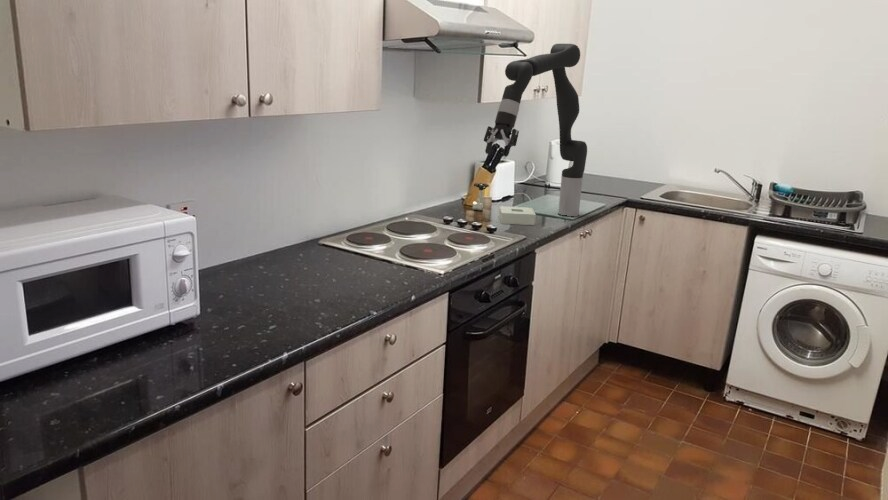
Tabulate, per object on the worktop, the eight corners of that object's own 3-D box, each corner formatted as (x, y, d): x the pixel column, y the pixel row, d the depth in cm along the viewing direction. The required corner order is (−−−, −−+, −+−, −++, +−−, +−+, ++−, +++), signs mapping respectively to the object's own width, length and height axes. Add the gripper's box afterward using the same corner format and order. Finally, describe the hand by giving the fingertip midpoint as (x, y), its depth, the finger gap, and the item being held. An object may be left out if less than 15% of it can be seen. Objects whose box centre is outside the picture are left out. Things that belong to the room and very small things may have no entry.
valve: (487, 212, 290) (489, 185, 287) (472, 211, 290) (474, 185, 287) (486, 209, 297) (488, 183, 294) (472, 208, 297) (473, 182, 293)
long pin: (481, 219, 276) (483, 196, 273) (490, 219, 276) (491, 196, 273) (482, 221, 272) (483, 197, 270) (490, 221, 272) (492, 197, 270)
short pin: (465, 219, 274) (465, 210, 273) (473, 219, 274) (474, 210, 273) (465, 221, 271) (466, 211, 269) (473, 221, 271) (474, 212, 269)
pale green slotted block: (499, 216, 283) (499, 206, 282) (531, 218, 283) (532, 207, 281) (501, 223, 269) (501, 212, 268) (534, 225, 269) (535, 214, 268)
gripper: (527, 117, 243) (516, 159, 243) (499, 115, 253) (488, 155, 253) (516, 111, 238) (504, 154, 238) (487, 109, 248) (476, 150, 248)
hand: (496, 155), depth 246 cm, fingers open, 8 cm apart
